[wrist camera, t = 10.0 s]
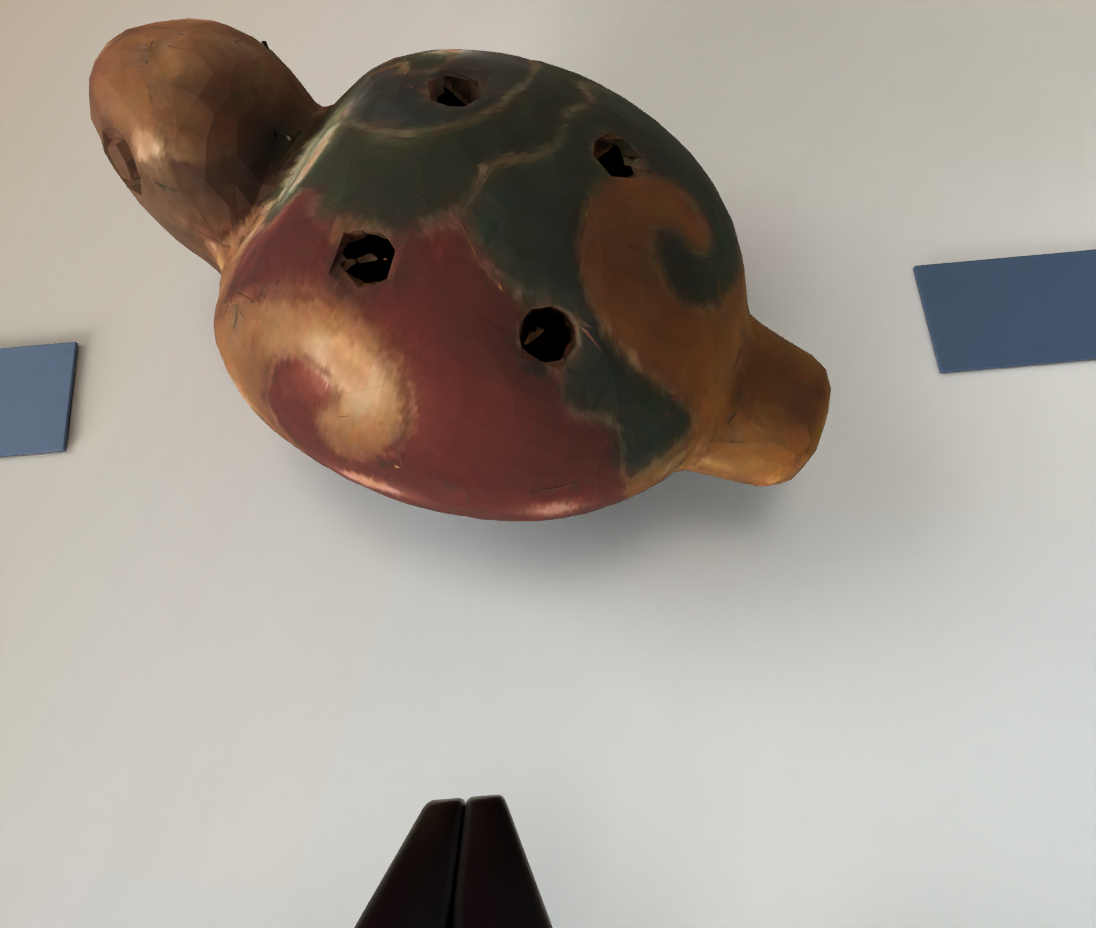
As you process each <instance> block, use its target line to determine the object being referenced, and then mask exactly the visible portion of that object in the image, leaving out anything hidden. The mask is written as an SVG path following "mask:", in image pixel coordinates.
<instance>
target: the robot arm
mask: <svg viewBox="0 0 1096 928" xmlns="http://www.w3.org/2000/svg"><path fill="white" fill-rule="evenodd" d="M354 928H552V925H551V922H550V919H549V917H548V914H547V911H546V909H545V906H544V903H543V900H542V898H541V895H540V892H539V890H538V887H537V884H536V882H535V879H534V876H533V873H532V871H531V868H530V865H529V863H528V860H527V857H526V854H525V852H524V849H523V846H522V844H521V841H520V838H519V836H518V833H517V830H516V827H515V825H514V822H513V819H512V817H511V814H510V811H509V809H508V806H507V803H506V801H505V799H504V798H503V796H501V795H488V796H476V797H471V798H469V799H468V800H467V802H465V801H464V800H463V799H461V798H453V799H441V800H433V801H430V802H428V803H427V804H426V805H425V806H424V808H423V809H422V811H421V813H420V815H419V816H418V818H417V820H416V821H415V823H414V825H413V827H412V828H411V830H410V832H409V834H408V835H407V837H406V839H405V841H404V842H403V844H402V846H401V848H400V849H399V851H398V853H397V854H396V856H395V858H394V860H393V861H392V863H391V865H390V867H389V868H388V870H387V872H386V874H385V875H384V877H383V879H382V881H381V882H380V884H379V886H378V887H377V889H376V891H375V893H374V894H373V896H372V898H371V900H370V901H369V903H368V905H367V907H366V908H365V910H364V912H363V913H362V915H361V917H360V919H359V920H358V922H357V924H356V926H355V927H354Z"/></svg>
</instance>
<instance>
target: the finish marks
mask: <svg viewBox="0 0 1096 928" xmlns="http://www.w3.org/2000/svg"><path fill="white" fill-rule="evenodd" d="M914 272H915V276H916V280H917V283H918V287H919V291H920V295H921V299H922V303H923V307H924V311H925V315H926V319H927V322H928V326H929V330H930V334H931V338H932V342H933V346H934V350H935V354H936V357H937V361H938V365H939V369H940V373H946V372H957V371H969V370H980V369H991V368H1002V367H1013V366H1025V365H1036V364H1047V363H1058V362H1070V361H1081V360H1092V359H1096V250H1087V251H1076V252H1065V253H1054V254H1042V255H1031V256H1020V257H1009V258H998V259H987V260H976V261H965V262H954V263H943V264H932V265H921V266H915V267H914ZM77 345H78V343H76V342H69V343H58V344H47V345H35V346H24V347H13V348H2V349H0V457H3V456H14V455H25V454H36V453H48V452H59V451H65V450H66V442H67V433H68V424H69V415H70V406H71V398H72V389H73V380H74V371H75V363H76V354H77Z"/></svg>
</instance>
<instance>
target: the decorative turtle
mask: <svg viewBox="0 0 1096 928" xmlns="http://www.w3.org/2000/svg"><path fill="white" fill-rule="evenodd" d="M261 42H262V43H263V44H264V45H263V44H262V43H260V42H259V41H258V40H256V39H255V38H253V37H251V36H249V35H247V34H245V33H243V32H241V31H239V30H236V29H234V28H232V27H230V26H228V25H225V24H222V23H219V22H215V21H211V20H201V19H190V18H187V19H179V20H171V21H163V22H155V23H151V24H147V25H143V26H139V27H135V28H131V29H127V30H125V31H124V32H122V33H121V34H119V35H118V36H116V37H115V38H113V39H112V40H110V41H109V42H108V43H107V44H106V45H105V47H104V48H103V50H102V51H101V53H100V54H99V56H98V57H97V59H96V60H95V62H94V66H93V69H92V72H91V75H90V78H89V100H90V112H91V119H92V121H93V124H94V126H95V128H96V130H97V132H98V134H99V136H100V138H101V141H102V145H103V148H104V152H105V154H106V155H107V157H108V159H109V160H110V162H111V164H112V165H113V167H114V169H115V170H116V172H117V173H118V175H119V176H120V177H121V179H122V180H123V181H124V183H125V184H126V186H127V187H128V188H129V190H130V191H131V192H132V194H133V195H134V196H135V197H136V199H137V200H138V201H139V203H140V204H141V205H142V206H143V207H144V208H145V209H146V210H147V211H148V212H149V213H150V215H151V216H152V217H153V218H154V219H155V220H156V221H157V222H158V223H159V224H160V225H161V226H162V227H163V228H165V229H166V230H167V231H168V232H169V233H170V234H171V235H172V236H173V237H174V238H175V239H176V240H177V241H179V242H180V243H181V244H183V245H184V246H185V247H186V248H188V249H189V250H191V251H192V252H194V253H195V254H197V255H198V256H199V257H201V258H202V259H204V260H205V261H206V262H207V263H209V264H210V265H211V266H212V267H213V268H215V269H216V270H217V271H218V272H219V273H221V280H220V288H219V298H218V301H217V304H216V310H215V316H214V330H215V338H216V344H217V346H218V349H219V351H220V354H221V356H222V359H223V361H224V364H225V366H226V369H227V371H228V373H229V375H230V377H231V378H232V380H233V382H234V384H235V385H236V387H237V389H238V390H239V392H240V393H241V395H242V396H243V398H244V399H245V401H246V402H247V403H248V404H249V406H250V407H251V408H252V409H253V410H254V412H255V413H256V414H257V415H258V416H259V417H260V418H261V419H262V420H263V421H264V422H265V423H266V424H267V425H268V426H269V427H270V428H271V429H273V430H274V431H275V432H276V433H278V434H279V435H280V436H281V437H283V438H284V439H285V440H287V441H288V442H290V443H291V444H292V445H294V446H295V447H297V448H298V449H299V450H301V451H302V452H304V453H305V454H307V455H308V456H310V457H311V458H313V459H314V460H316V461H317V462H319V463H320V464H322V465H323V466H326V467H328V468H330V469H331V470H333V471H335V472H336V473H338V474H340V475H341V476H343V477H344V478H346V479H348V480H350V481H352V482H355V483H357V484H359V485H362V486H364V487H366V488H369V489H371V490H373V491H375V492H378V493H380V494H382V495H385V496H387V497H389V498H392V499H395V500H398V501H401V502H404V503H406V504H410V505H414V506H417V507H421V508H426V509H430V510H434V511H438V512H442V513H448V514H454V515H461V516H468V517H473V518H478V519H486V520H501V521H541V520H551V519H560V518H565V517H570V516H575V515H580V514H585V513H588V512H591V511H594V510H597V509H600V508H603V507H606V506H609V505H612V504H615V503H618V502H621V501H623V500H625V499H627V498H630V497H632V496H634V495H637V494H639V493H641V492H643V491H645V490H647V489H649V488H650V487H652V486H654V485H656V484H657V483H659V482H661V481H662V480H664V479H665V478H666V477H668V476H669V475H670V474H672V473H673V472H676V471H682V470H688V471H694V472H698V473H702V474H706V475H711V476H715V477H719V478H723V479H728V480H732V481H736V482H740V483H745V484H750V485H755V486H769V485H775V484H781V483H783V482H786V481H788V480H791V479H792V478H793V477H794V476H795V475H796V474H797V473H798V472H799V471H800V470H801V469H802V468H803V467H804V465H805V464H806V463H807V461H808V460H809V459H810V458H811V456H812V455H813V454H814V452H815V451H816V449H817V446H818V443H819V440H820V437H821V434H822V431H823V428H824V425H825V421H826V417H827V414H828V409H829V400H830V392H831V387H830V384H829V380H828V376H827V372H826V369H825V368H824V367H823V366H822V365H821V364H820V363H819V362H818V361H817V360H816V359H815V358H814V357H813V356H812V355H811V354H809V353H807V352H806V351H804V350H802V349H801V348H799V347H797V346H796V345H794V344H792V343H791V342H789V341H787V340H785V339H784V338H782V337H781V336H779V335H778V334H776V333H775V332H773V331H772V330H770V329H769V328H767V327H765V326H764V325H763V324H761V323H760V322H759V321H758V320H756V319H755V318H754V317H753V316H752V315H751V314H750V313H749V309H748V304H747V294H746V283H745V273H744V265H743V259H742V254H741V250H740V247H739V243H738V239H737V236H736V232H735V228H734V225H733V222H732V220H731V217H730V215H729V213H728V211H727V209H726V207H725V205H724V203H723V201H722V199H721V197H720V195H719V193H718V191H717V189H716V187H715V186H714V184H713V182H712V181H711V180H710V178H709V177H708V175H707V174H706V172H705V171H704V170H703V168H702V167H701V166H700V164H699V163H698V162H697V161H696V159H695V158H694V157H693V155H692V154H691V153H690V152H689V151H688V150H687V149H686V148H685V147H684V146H683V145H682V144H681V143H680V142H679V141H678V140H677V139H676V138H675V137H674V136H672V135H671V134H670V133H669V132H668V131H667V130H666V129H665V128H664V127H662V126H661V125H660V124H659V123H658V122H657V121H656V120H654V119H653V118H652V117H650V116H649V115H648V114H646V113H645V112H643V111H642V110H641V109H639V108H638V107H637V106H635V105H634V104H632V103H631V102H629V101H628V100H626V99H625V98H623V97H622V96H620V95H618V94H616V93H615V92H613V91H611V90H609V89H607V88H605V87H604V86H602V85H600V84H598V83H596V82H594V81H592V80H590V79H588V78H585V77H583V76H581V75H579V74H577V73H574V72H571V71H568V70H565V69H562V68H559V67H556V66H553V65H550V64H547V63H544V62H541V61H535V60H529V59H526V58H522V57H519V56H514V55H508V54H503V53H496V52H488V51H477V50H462V49H448V50H430V51H424V52H419V53H414V54H410V55H406V56H402V57H397V58H393V59H391V60H389V61H387V62H385V63H383V64H381V65H379V66H377V67H375V68H373V69H371V70H370V71H369V72H367V73H366V74H365V75H363V76H362V77H361V78H360V79H359V80H358V81H357V82H356V83H355V84H354V85H353V86H352V87H351V88H350V89H349V90H348V91H347V92H346V93H345V94H344V95H343V96H342V97H341V98H340V99H339V100H338V101H337V102H336V103H335V104H334V105H330V106H327V107H322V106H320V105H319V104H317V103H316V102H315V101H314V100H313V98H312V97H311V96H310V94H309V93H308V92H307V91H306V89H305V88H304V87H303V85H302V84H301V83H300V81H299V80H298V79H297V78H296V76H295V75H294V74H293V73H292V71H291V70H290V69H289V68H288V67H287V66H286V65H285V64H284V63H283V62H282V61H281V60H280V59H279V58H278V57H277V55H276V54H275V53H274V52H273V51H272V50H270V49H269V48H268V45H267V43H266V41H261Z"/></svg>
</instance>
